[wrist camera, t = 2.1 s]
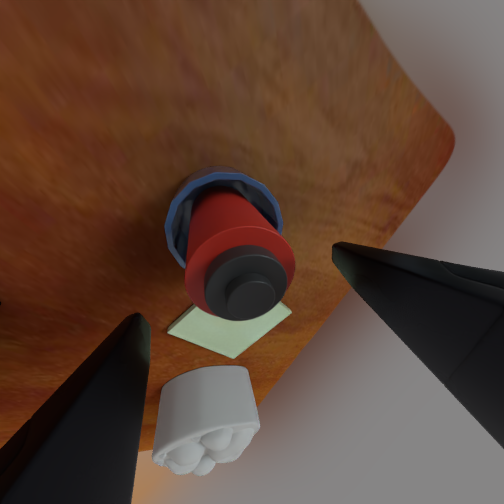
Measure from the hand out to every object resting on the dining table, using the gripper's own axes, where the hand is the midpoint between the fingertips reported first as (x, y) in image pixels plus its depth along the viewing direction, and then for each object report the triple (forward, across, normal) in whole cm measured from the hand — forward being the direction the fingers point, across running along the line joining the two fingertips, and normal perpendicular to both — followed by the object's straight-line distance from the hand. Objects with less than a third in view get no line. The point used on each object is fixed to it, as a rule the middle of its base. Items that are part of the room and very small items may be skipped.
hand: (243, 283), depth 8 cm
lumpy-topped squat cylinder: (+10, +11, +26) cm, 30 cm away
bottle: (+9, 0, 0) cm, 9 cm away
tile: (+10, +2, +13) cm, 17 cm away
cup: (+10, 0, 0) cm, 10 cm away
